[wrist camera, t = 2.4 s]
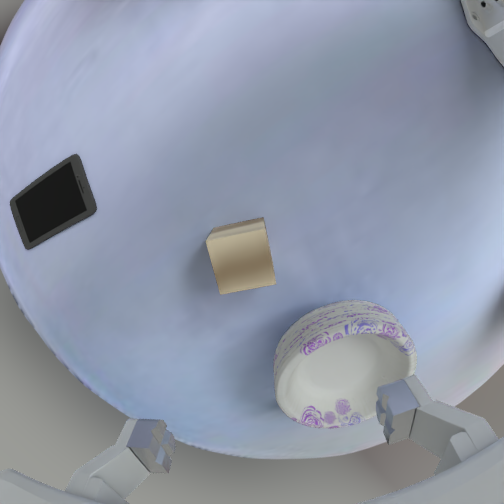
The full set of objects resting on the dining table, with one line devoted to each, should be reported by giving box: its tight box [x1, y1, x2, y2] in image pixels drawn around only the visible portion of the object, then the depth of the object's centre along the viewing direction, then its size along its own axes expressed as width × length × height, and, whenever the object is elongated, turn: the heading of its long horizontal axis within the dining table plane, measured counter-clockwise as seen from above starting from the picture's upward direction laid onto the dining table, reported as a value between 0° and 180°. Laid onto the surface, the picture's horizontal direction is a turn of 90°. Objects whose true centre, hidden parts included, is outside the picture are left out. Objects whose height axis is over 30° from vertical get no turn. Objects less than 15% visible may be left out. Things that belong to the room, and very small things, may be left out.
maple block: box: [206, 217, 276, 295], centre depth 27 cm, size 5×5×5 cm
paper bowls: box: [273, 300, 417, 428], centre depth 29 cm, size 15×15×8 cm
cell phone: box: [10, 154, 97, 249], centre depth 28 cm, size 7×14×1 cm, turn 109°
